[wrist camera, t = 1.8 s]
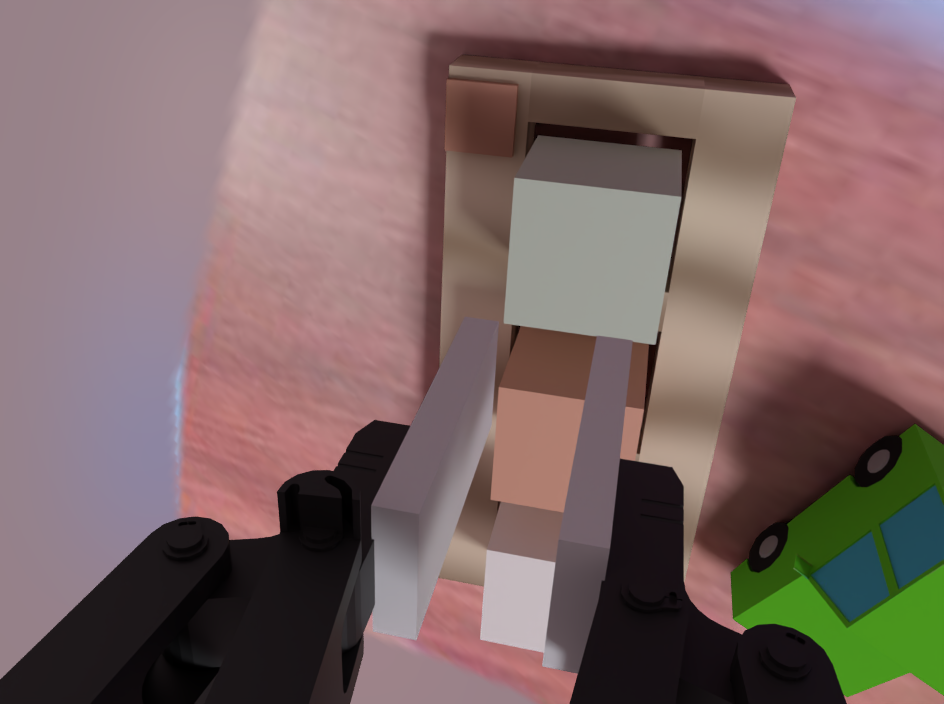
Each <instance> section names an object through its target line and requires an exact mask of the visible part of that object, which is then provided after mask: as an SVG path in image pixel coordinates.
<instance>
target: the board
mask: <svg viewBox="0 0 944 704" xmlns="http://www.w3.org/2000/svg"><path fill="white" fill-rule="evenodd" d="M795 100H796V97H795V95H794V93H793V91H792V89H791V87H790V85H789V84H778V83H767V82H756V81H745V80H734V79H724V78H713V77H702V76H691V75H680V74H669V73H658V72H647V71H636V70H625V69H614V68H603V67H592V66H581V65H570V64H559V63H548V62H537V61H526V60H515V59H504V58H493V57H482V56H471V55H461V56H460V57H459V58H458V59H456V60H455V61H454V62H453V63H451V64H450V65H449V78H448V79H447V81H446V113H445V144H444V150H446V178H445V209H444V239H443V270H442V300H441V331H440V361H439V368H440V366H441V364H442V362H443V360H444V358H445V356H446V354H447V352H448V350H449V348H450V346H451V344H452V342H453V340H454V338H455V336H456V334H457V332H458V330H459V328H460V326H461V323H462V321H463V319H464V317H471V318H478V319H485V320H492V321H499V328H498V342H497V356H496V370H495V384H494V398H493V412H492V425H491V428H490V431H489V434H488V437H487V440H486V443H485V445H484V448H483V451H482V454H481V457H480V460H479V463H478V465H477V468H476V471H475V474H474V477H473V480H472V483H471V485H470V488H469V491H468V494H467V497H466V500H465V503H464V505H463V508H462V511H461V514H460V517H459V520H458V523H457V525H456V528H455V531H454V534H453V537H452V540H451V543H450V545H449V548H448V551H447V554H446V557H445V560H444V563H443V565H442V568H441V571H440V574H439V577H438V578H443V579H448V580H453V581H458V582H463V583H468V584H474V585H479V586H484V581H485V568H486V554H487V547H488V544H489V541H490V537H491V534H492V530H493V527H494V524H495V520H496V517H497V513H498V510H499V506H500V503H501V501H495V500H491V486H492V473H493V459H494V446H495V432H496V419H497V405H498V392H499V385H500V382H501V380H502V377H503V374H504V371H505V369H506V366H507V363H508V360H509V358H510V355H511V352H512V349H513V347H514V344H515V341H516V338H517V335H518V325H512V324H504V310H505V297H506V283H507V270H508V256H509V243H510V229H511V216H512V202H513V189H514V177H515V176H516V174H517V172H518V170H519V169H520V167H521V165H522V163H523V161H524V160H525V158H526V156H527V154H528V153H529V151H530V149H531V147H532V145H533V144H534V133H535V122H536V123H546V124H555V125H565V126H575V127H585V128H594V129H604V130H614V131H624V132H633V133H643V134H653V135H662V136H672V137H682V138H692V139H693V141H692V147H691V152H690V158H689V164H688V169H687V175H686V181H685V186H684V192H683V198H682V203H681V209H680V215H679V220H678V226H677V232H676V237H675V243H674V249H673V254H672V260H671V266H670V271H668V276H667V282H666V288H665V293H664V299H663V305H662V310H661V316H660V322H659V327H658V331H659V334H658V339H657V345H656V351H655V356H654V362H653V368H652V373H651V379H650V385H649V390H648V396H647V402H646V407H645V413H644V419H643V424H642V427H641V430H640V436H639V441H638V447H637V453H636V458H635V461H638V462H644V463H650V464H656V465H662V466H669V467H673V469H674V471H675V472H676V474H677V476H678V477H679V479H680V481H681V482H682V484H683V486H684V508H683V509H684V523H683V525H684V581H685V576H686V572H687V568H688V563H689V559H690V555H691V550H692V546H693V542H694V537H695V533H696V529H697V524H698V520H699V516H700V512H701V507H702V503H703V499H704V494H705V490H706V486H707V481H708V477H709V473H710V468H711V464H712V460H713V455H714V451H715V447H716V442H717V438H718V434H719V429H720V425H721V421H722V416H723V412H724V408H725V403H726V399H727V395H728V390H729V386H730V382H731V377H732V373H733V369H734V364H735V360H736V356H737V351H738V347H739V343H740V338H741V334H742V330H743V325H744V321H745V317H746V312H747V308H748V304H749V299H750V295H751V291H752V287H753V282H754V278H755V274H756V269H757V265H758V261H759V256H760V252H761V248H762V243H763V239H764V235H765V230H766V226H767V222H768V217H769V213H770V209H771V204H772V200H773V196H774V191H775V187H776V183H777V178H778V174H779V170H780V165H781V161H782V157H783V152H784V148H785V144H786V139H787V135H788V131H789V126H790V122H791V118H792V113H793V109H794V105H795Z"/></svg>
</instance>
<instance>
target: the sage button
mask: <svg viewBox="0 0 944 704" xmlns="http://www.w3.org/2000/svg"><path fill="white" fill-rule="evenodd" d="M681 187H682V150H674V149H664V148H655V147H645V146H636V145H626V144H617V143H607V142H598V141H588V140H579V139H569V138H560V137H550V136H541V135H538V137H537V138H536V140H535V142H534V144H533V145H532V147H531V149H530V151H529V153H528V154H527V156H526V158H525V160H524V161H523V163H522V165H521V167H520V169H519V170H518V172H517V174H516V176H515V177H514V189H513V202H512V216H511V229H510V243H509V256H508V270H507V283H506V297H505V310H504V324H512V325H519V326H526V327H533V328H540V329H547V330H554V331H561V332H568V333H575V334H582V335H589V336H596V337H597V335H598V336H605V337H612V338H619V339H626V340H633V342H638V343H645V344H652V345H655V344H656V339H657V333H658V327H659V322H660V316H661V310H662V305H663V299H664V293H665V288H666V282H667V276H668V270H669V265H670V259H671V253H672V248H673V242H674V236H675V231H676V225H677V219H678V214H679V208H680V202H681Z"/></svg>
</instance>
